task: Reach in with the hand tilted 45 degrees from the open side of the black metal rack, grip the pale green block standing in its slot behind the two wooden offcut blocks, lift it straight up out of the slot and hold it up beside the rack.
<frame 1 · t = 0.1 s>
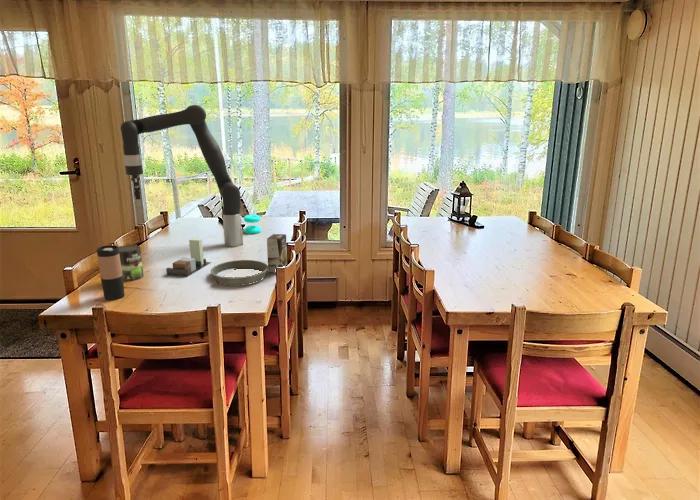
hand: (137, 197, 232), 29 cm above the table, tool pointing down, fingers open, 8 cm apart
coffee can: (131, 279, 207), on the table
offcut b: (182, 273, 212), point 1 cm above the table, touching rack
pale green block: (197, 264, 224), point 1 cm above the table, touching rack
rack: (197, 266, 224), on the table
cake pan: (240, 278, 210), on the table
offcut a: (187, 269, 216), point 1 cm above the table, touching rack
coffee box: (278, 270, 219), on the table
travel mug: (114, 297, 187), on the table
donuts: (252, 232, 287), on the table
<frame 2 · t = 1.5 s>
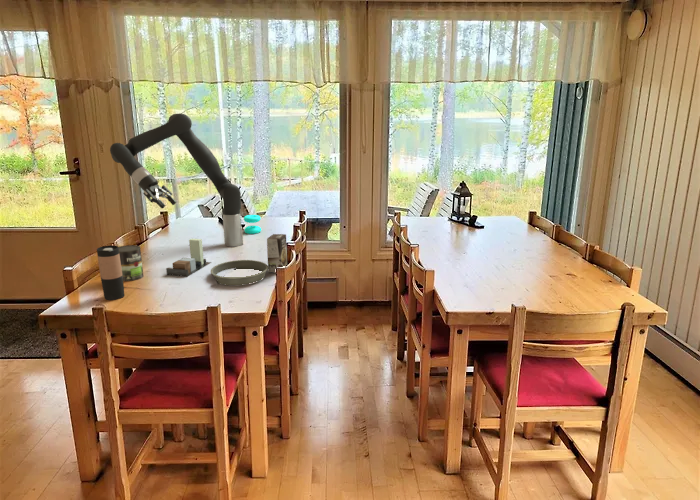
hand: (169, 205, 219), 28 cm above the table, tool tilted 45°, fingers open, 8 cm apart
nothing on the table moved.
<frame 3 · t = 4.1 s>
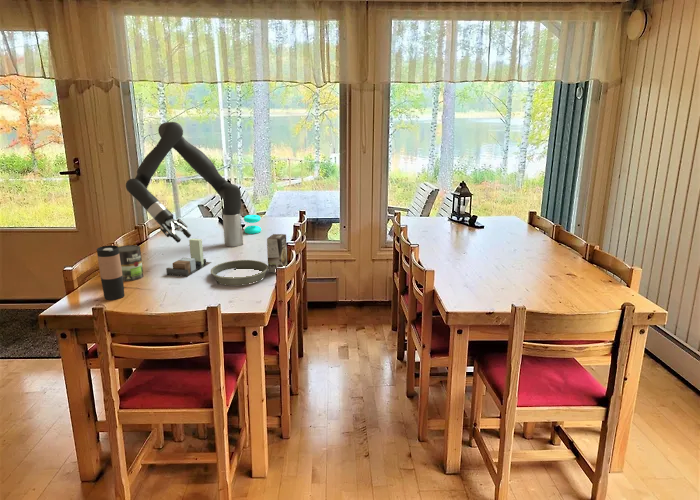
hand: (184, 239, 222), 13 cm above the table, tool tilted 45°, fingers open, 8 cm apart
nothing on the table moved.
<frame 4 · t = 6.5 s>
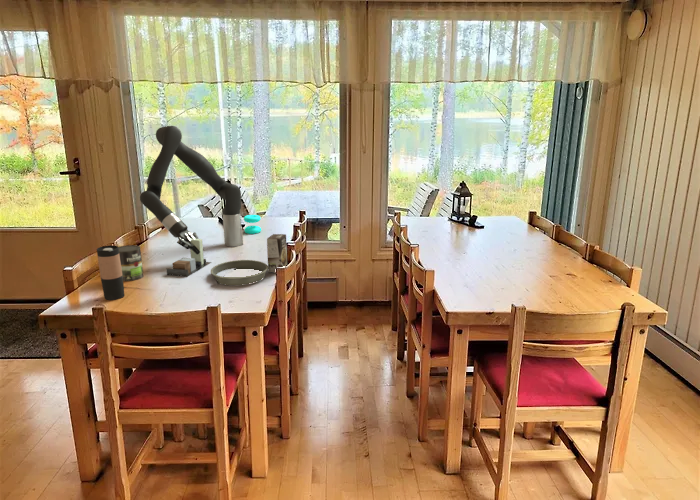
hand: (200, 252, 222), 7 cm above the table, tool tilted 45°, fingers closed on pale green block, 2 cm apart
pale green block: (197, 264, 224), point 1 cm above the table, touching gripper, rack
everything else where it was.
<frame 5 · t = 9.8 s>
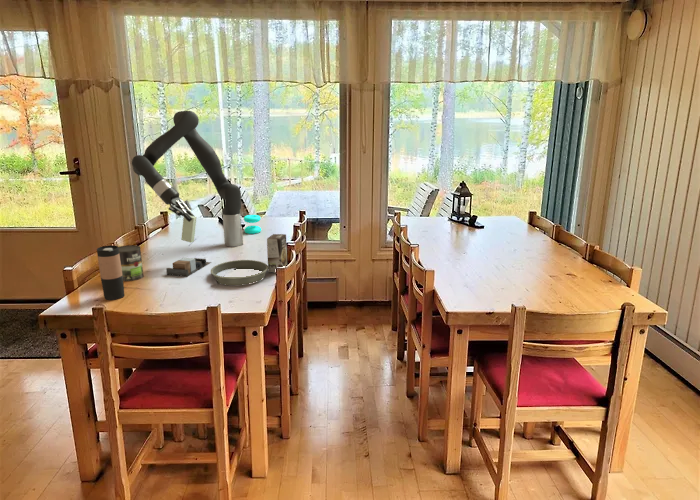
hand: (192, 219, 218), 22 cm above the table, tool tilted 45°, fingers closed on pale green block
pale green block: (187, 240, 221), point 12 cm above the table, tilted 12°, touching gripper
everything else where it was.
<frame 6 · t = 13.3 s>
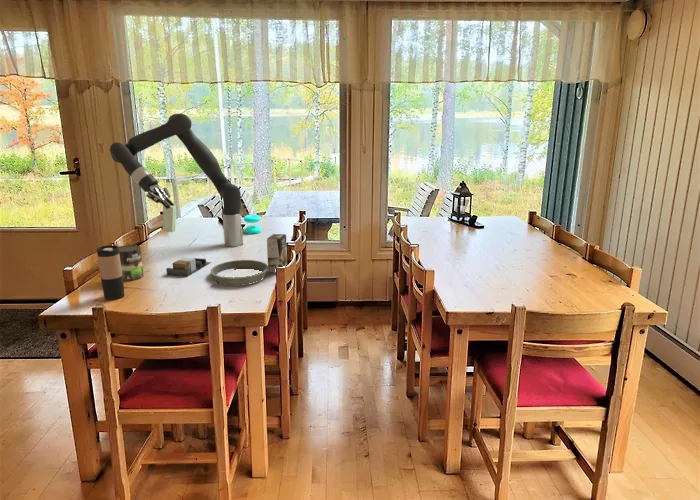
hand: (170, 206, 219), 28 cm above the table, tool tilted 45°, fingers closed on pale green block, 2 cm apart
pale green block: (169, 230, 223), point 16 cm above the table, tilted 8°, touching gripper
everything else where it was.
at the end: the gripper is holding pale green block; pale green block point 16.4 cm above the table; offcut a moved 0.0 cm from its start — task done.
